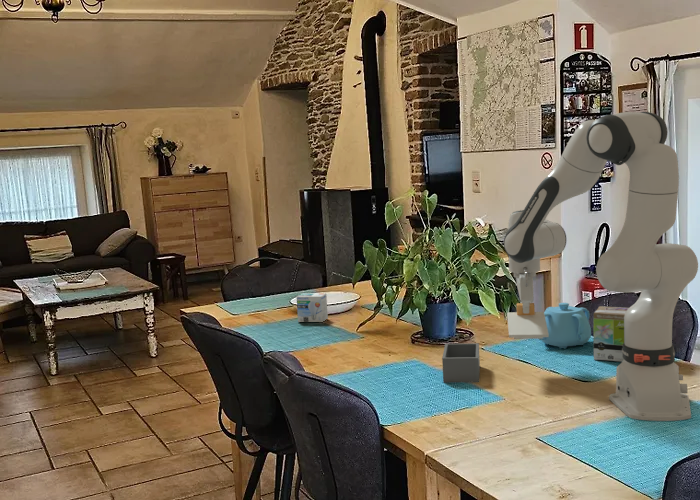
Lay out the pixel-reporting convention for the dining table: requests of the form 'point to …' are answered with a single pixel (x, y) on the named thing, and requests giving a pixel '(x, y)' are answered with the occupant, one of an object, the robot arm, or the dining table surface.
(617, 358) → the tea box
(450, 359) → the tub
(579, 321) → the decorative pot
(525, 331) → the lid
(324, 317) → the light bulb box
